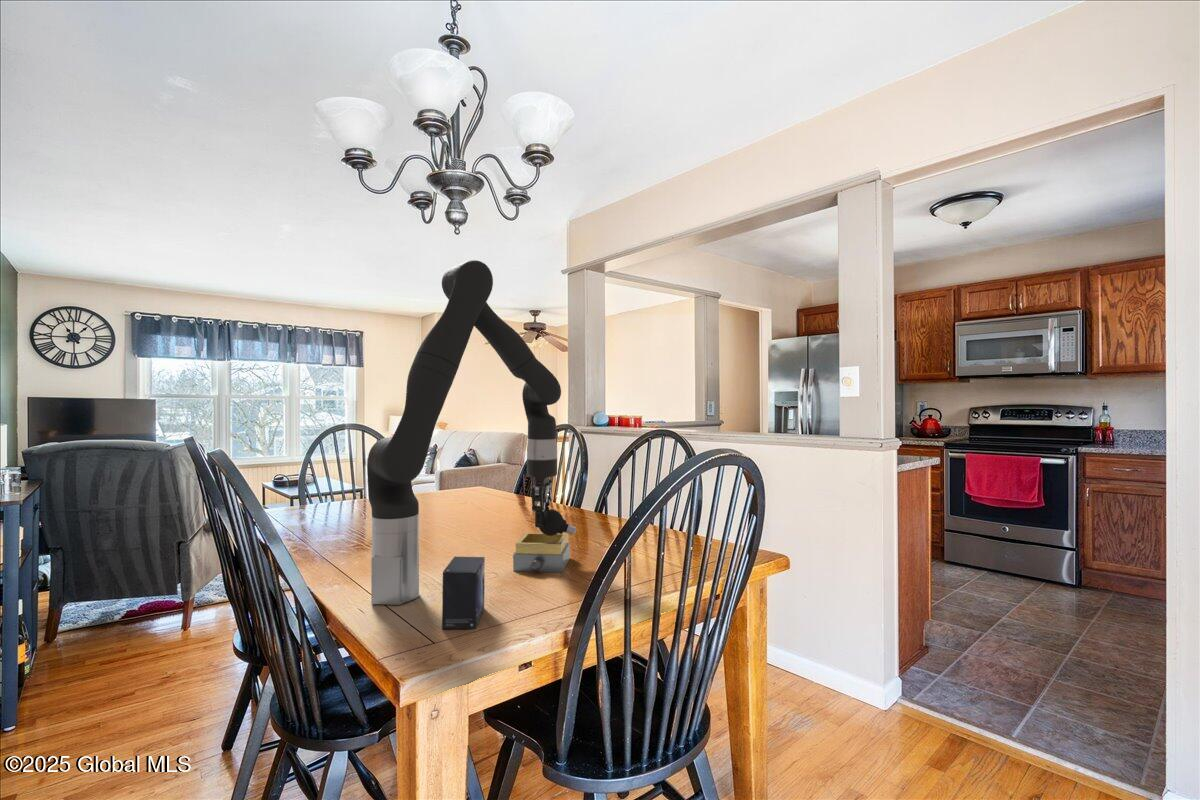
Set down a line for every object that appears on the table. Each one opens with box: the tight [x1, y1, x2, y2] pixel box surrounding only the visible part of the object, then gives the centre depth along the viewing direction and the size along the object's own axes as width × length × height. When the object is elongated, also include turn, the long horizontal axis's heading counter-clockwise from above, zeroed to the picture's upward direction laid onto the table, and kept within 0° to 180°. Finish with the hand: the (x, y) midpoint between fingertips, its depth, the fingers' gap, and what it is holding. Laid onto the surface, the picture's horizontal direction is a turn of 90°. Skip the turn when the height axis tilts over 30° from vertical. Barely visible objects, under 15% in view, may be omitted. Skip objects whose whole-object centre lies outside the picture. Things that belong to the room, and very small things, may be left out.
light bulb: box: [538, 508, 577, 536], centre depth 143 cm, size 6×6×10 cm
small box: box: [441, 556, 486, 630], centre depth 108 cm, size 11×6×10 cm, turn 3°
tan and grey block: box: [512, 532, 571, 573], centre depth 142 cm, size 15×12×6 cm
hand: (542, 524), depth 143 cm, fingers closed on light bulb, 6 cm apart
